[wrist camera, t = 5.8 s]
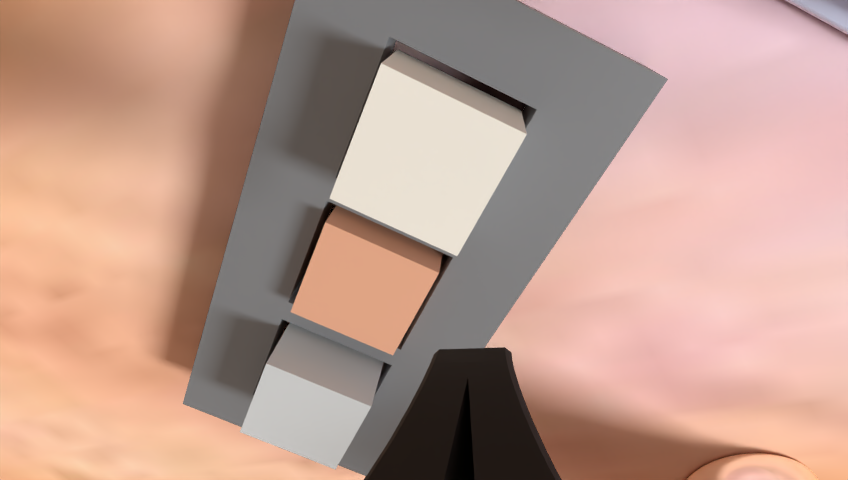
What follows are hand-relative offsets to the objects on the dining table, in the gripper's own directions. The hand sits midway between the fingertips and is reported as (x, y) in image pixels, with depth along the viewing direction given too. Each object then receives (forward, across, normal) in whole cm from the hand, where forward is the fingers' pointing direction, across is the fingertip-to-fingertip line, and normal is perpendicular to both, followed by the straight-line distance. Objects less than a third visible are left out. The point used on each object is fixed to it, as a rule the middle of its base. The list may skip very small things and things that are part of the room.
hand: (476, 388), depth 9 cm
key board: (+9, +4, +2) cm, 11 cm away
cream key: (+8, +1, -3) cm, 8 cm away
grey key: (+8, +7, +7) cm, 13 cm away
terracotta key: (+9, +4, +2) cm, 10 cm away
